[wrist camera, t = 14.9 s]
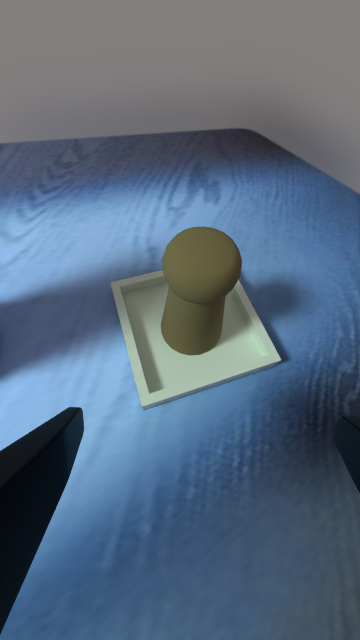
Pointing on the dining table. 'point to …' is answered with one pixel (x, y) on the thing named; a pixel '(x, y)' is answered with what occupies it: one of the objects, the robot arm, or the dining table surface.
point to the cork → (198, 288)
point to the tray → (179, 369)
